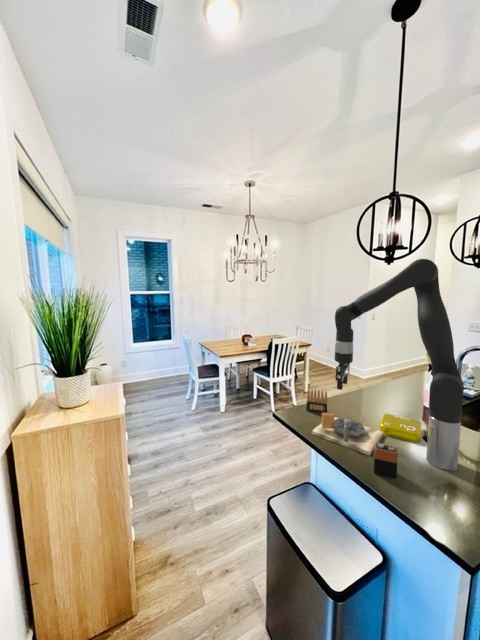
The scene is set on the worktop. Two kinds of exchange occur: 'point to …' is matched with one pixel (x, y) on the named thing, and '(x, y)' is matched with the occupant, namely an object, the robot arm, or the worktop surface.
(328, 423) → the multicoloured piece
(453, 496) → the worktop surface
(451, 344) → the robot arm
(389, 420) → the element tile
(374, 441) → the dial base
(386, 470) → the battery
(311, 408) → the ammunition clip
